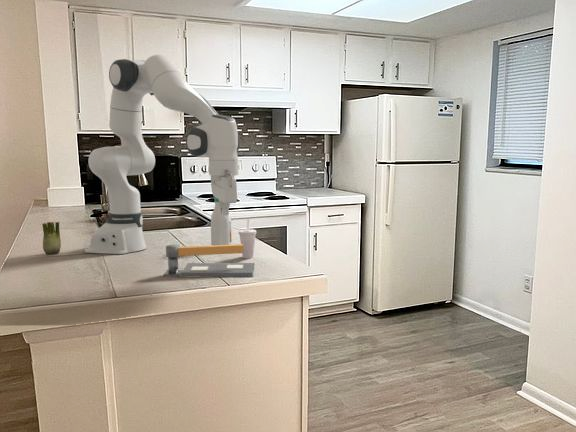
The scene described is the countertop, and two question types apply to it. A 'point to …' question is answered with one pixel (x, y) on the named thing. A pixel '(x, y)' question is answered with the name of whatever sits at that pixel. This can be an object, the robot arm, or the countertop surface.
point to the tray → (218, 269)
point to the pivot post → (173, 267)
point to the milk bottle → (220, 226)
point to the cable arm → (202, 250)
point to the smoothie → (247, 241)
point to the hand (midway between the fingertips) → (224, 214)
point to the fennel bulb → (51, 238)
